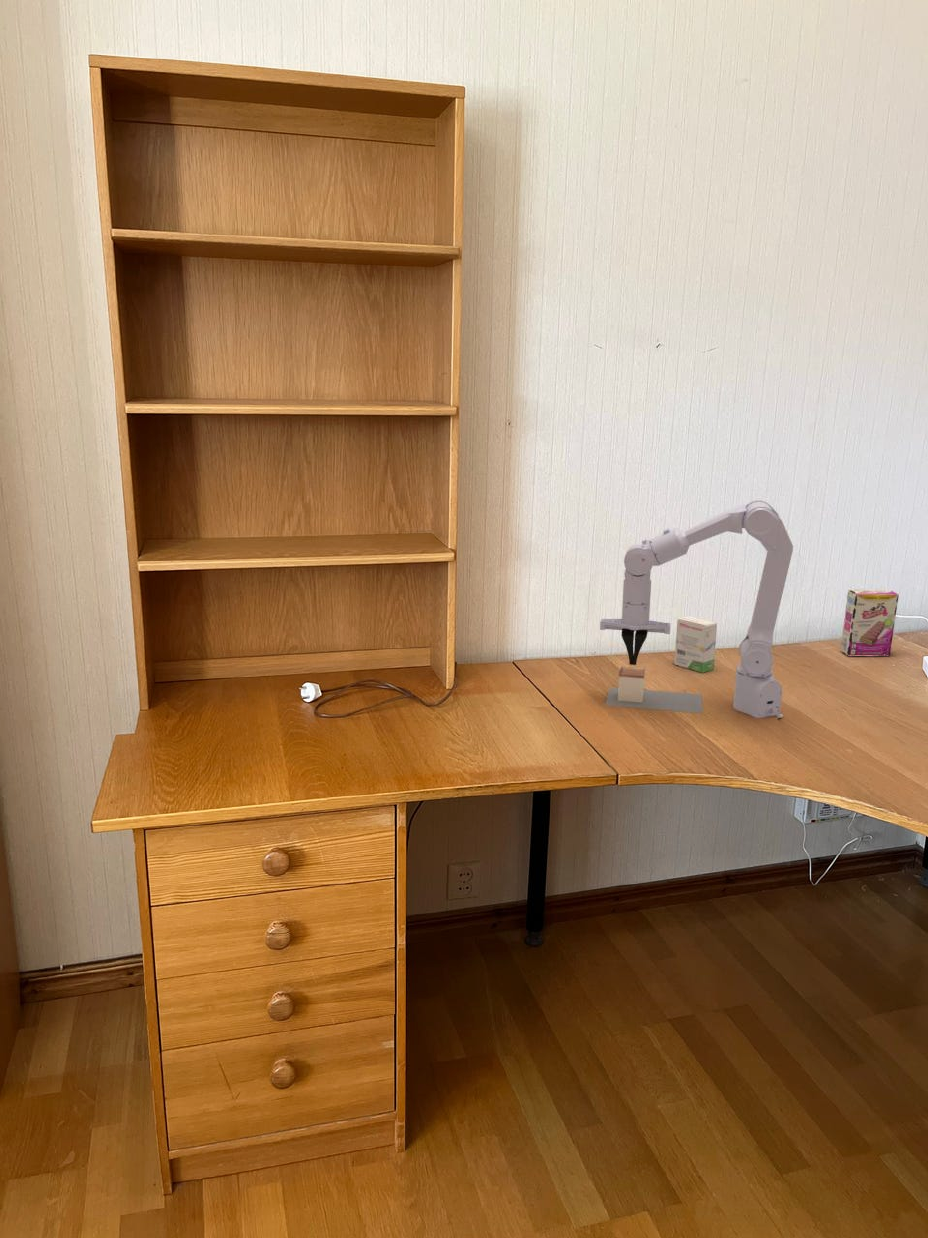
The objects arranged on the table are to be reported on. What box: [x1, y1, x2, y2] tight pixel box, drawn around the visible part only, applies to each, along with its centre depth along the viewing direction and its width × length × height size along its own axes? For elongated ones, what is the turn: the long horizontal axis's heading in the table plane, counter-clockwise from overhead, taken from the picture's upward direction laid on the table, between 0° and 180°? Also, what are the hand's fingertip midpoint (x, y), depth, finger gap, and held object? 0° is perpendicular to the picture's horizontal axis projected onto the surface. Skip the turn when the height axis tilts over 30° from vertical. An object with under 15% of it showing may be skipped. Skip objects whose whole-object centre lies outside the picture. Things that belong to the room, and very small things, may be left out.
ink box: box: [674, 615, 718, 674], centre depth 232 cm, size 8×5×12 cm, turn 40°
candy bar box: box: [840, 589, 900, 656], centre depth 243 cm, size 11×5×16 cm, turn 94°
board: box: [605, 686, 703, 714], centre depth 208 cm, size 20×12×1 cm, turn 77°
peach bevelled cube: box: [617, 666, 646, 703], centre depth 208 cm, size 5×5×6 cm
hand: (632, 663), depth 207 cm, fingers closed
